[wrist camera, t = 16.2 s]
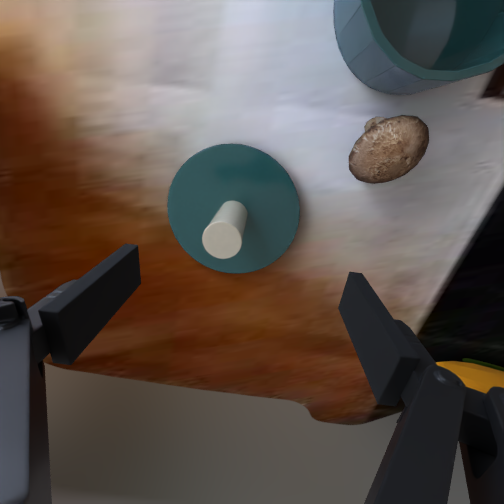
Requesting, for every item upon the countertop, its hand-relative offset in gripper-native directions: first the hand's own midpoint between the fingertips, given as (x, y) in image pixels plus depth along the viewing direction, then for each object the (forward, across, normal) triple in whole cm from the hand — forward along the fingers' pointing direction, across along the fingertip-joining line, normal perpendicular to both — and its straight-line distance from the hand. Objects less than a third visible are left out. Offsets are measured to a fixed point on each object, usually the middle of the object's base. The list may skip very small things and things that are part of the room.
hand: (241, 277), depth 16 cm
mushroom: (+20, +14, +8) cm, 26 cm away
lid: (+19, -3, -2) cm, 19 cm away
